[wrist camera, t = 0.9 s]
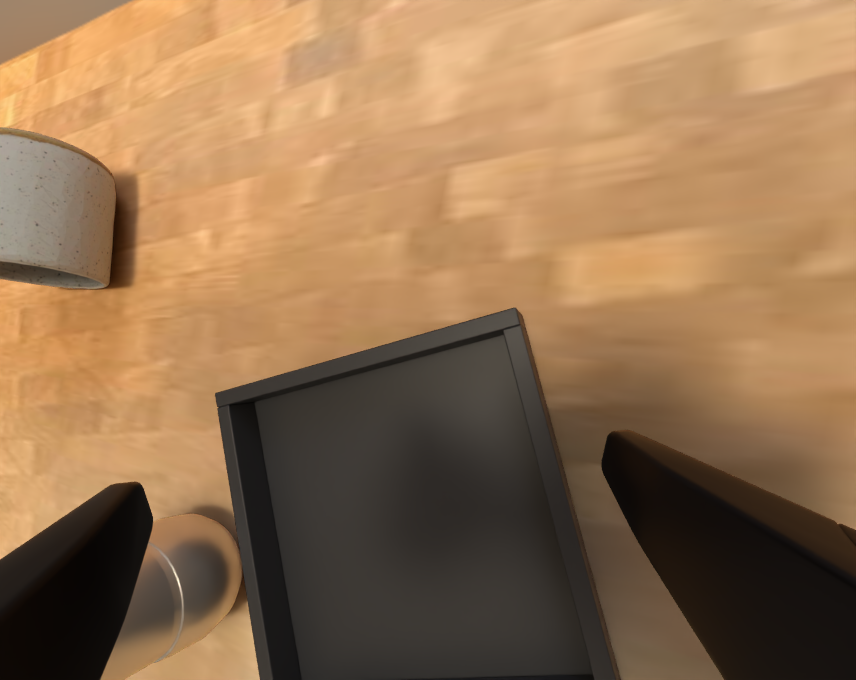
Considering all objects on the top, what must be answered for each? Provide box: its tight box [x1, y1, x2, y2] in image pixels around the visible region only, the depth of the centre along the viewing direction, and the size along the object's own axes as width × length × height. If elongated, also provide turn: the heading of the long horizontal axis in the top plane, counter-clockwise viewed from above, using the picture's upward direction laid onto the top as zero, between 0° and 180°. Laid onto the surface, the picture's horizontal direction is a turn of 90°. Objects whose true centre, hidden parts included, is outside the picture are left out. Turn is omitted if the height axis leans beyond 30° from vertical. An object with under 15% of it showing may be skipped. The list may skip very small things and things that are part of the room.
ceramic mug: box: [0, 128, 116, 289], centre depth 27 cm, size 11×8×8 cm
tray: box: [215, 308, 621, 680], centre depth 20 cm, size 17×17×2 cm
